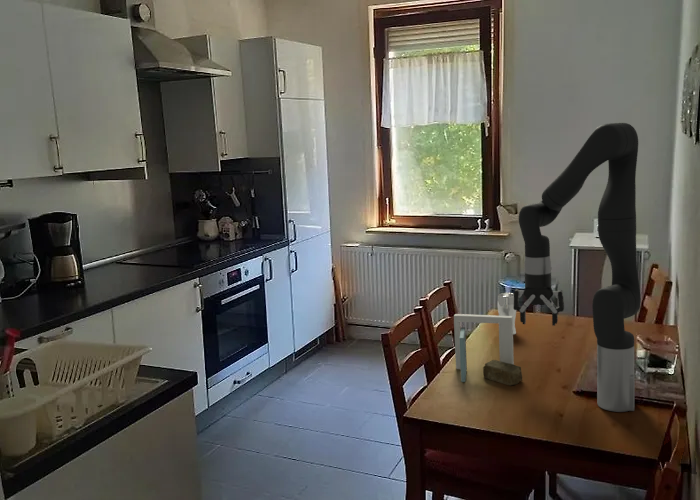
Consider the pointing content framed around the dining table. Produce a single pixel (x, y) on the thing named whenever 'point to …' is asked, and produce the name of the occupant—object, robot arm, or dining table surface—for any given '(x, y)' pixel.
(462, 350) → the door
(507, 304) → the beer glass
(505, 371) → the stone block
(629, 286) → the robot arm
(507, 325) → the door frame
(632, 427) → the dining table surface
